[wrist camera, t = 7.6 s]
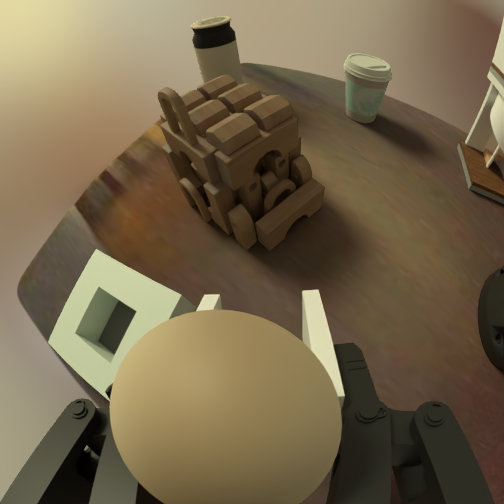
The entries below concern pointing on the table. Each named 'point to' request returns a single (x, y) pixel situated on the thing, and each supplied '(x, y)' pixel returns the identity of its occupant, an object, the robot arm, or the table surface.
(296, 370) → the dowel
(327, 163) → the table surface
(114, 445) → the robot arm
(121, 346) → the socket block
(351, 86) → the coffee cup
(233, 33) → the travel mug
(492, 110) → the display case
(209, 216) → the wooden puzzle
